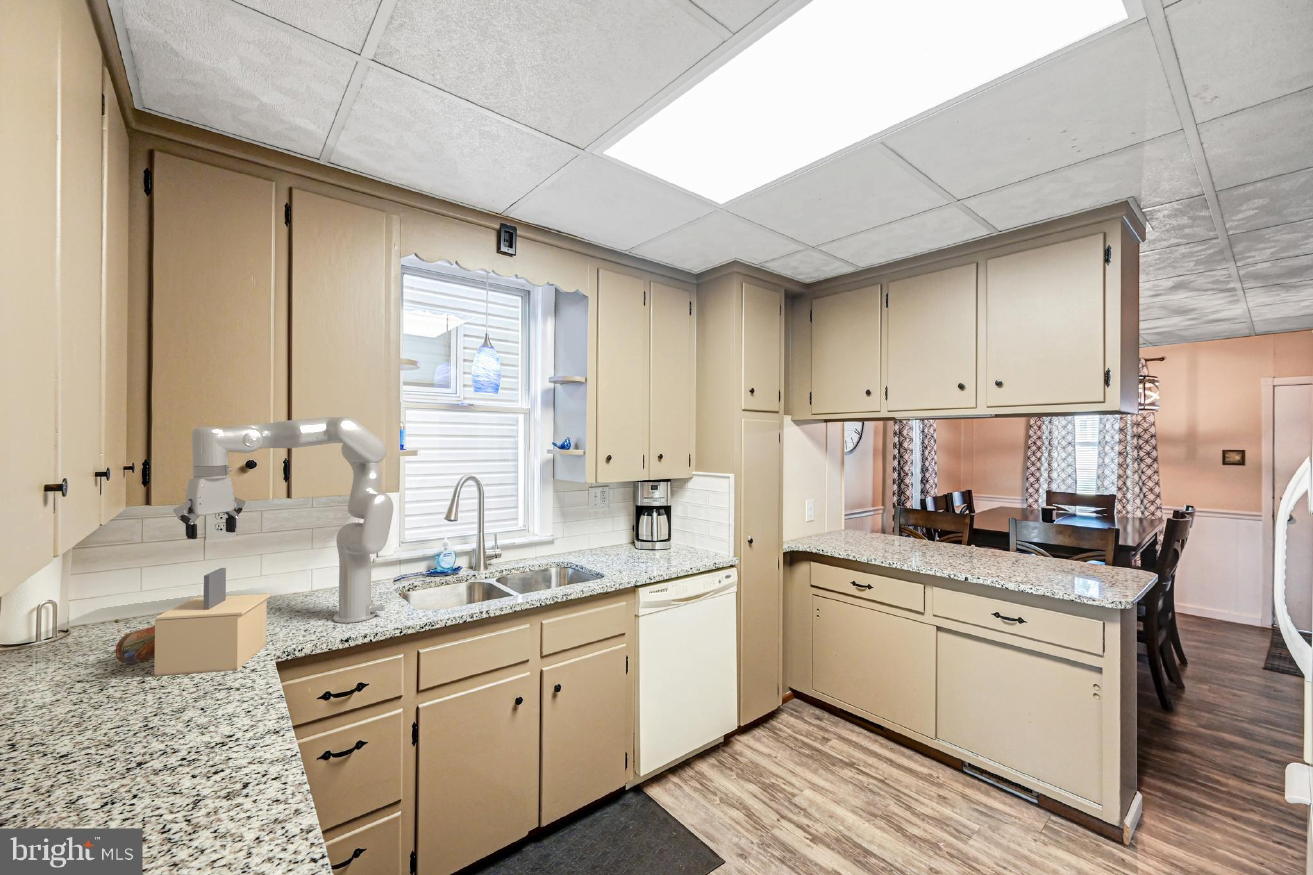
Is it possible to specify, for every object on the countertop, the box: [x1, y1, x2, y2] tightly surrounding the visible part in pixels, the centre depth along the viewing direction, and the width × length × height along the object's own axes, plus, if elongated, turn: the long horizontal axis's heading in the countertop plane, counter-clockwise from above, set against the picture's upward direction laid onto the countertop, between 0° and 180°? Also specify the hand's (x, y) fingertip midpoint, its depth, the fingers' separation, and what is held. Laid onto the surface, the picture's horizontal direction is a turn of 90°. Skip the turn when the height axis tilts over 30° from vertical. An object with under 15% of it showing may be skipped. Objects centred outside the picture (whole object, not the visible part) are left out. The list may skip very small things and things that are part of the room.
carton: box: [153, 598, 268, 677], centre depth 153 cm, size 18×18×14 cm
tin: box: [115, 624, 155, 665], centre depth 154 cm, size 15×3×8 cm, turn 168°
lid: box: [154, 567, 271, 621], centre depth 153 cm, size 19×18×10 cm
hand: (211, 535), depth 154 cm, fingers open, 9 cm apart
